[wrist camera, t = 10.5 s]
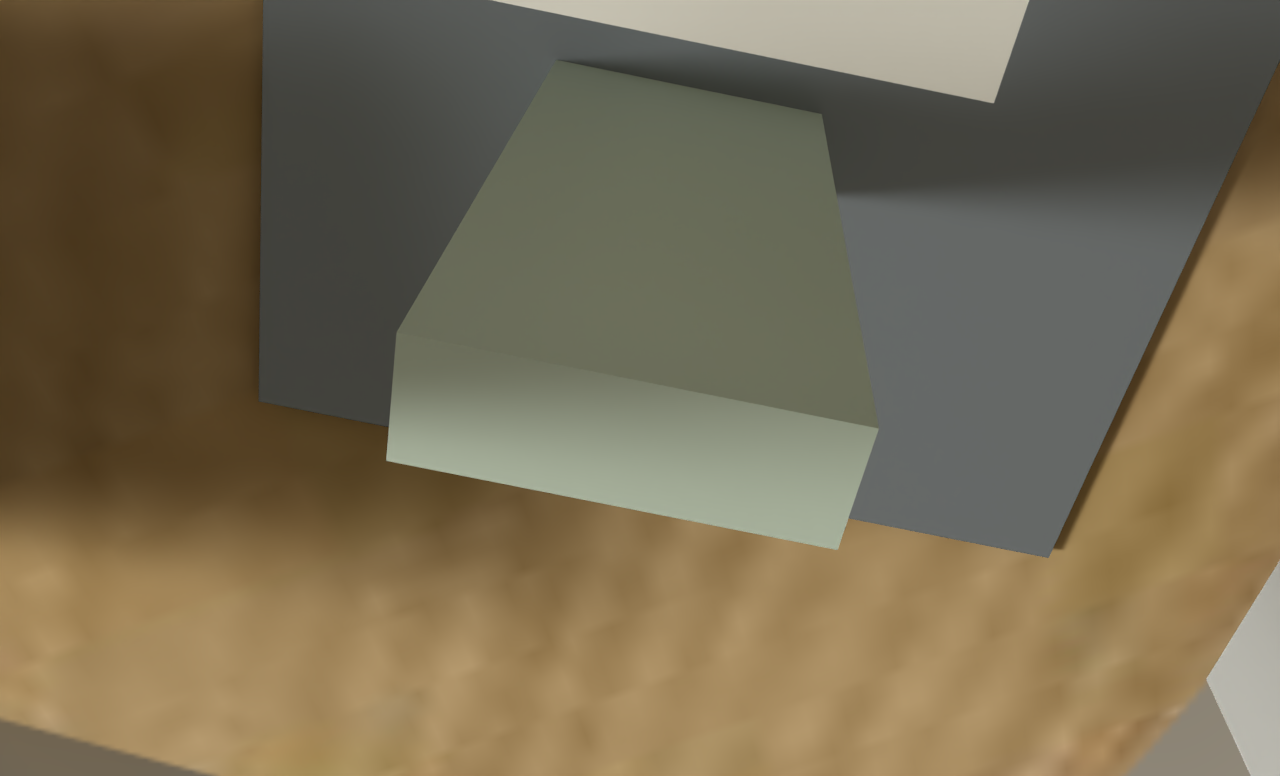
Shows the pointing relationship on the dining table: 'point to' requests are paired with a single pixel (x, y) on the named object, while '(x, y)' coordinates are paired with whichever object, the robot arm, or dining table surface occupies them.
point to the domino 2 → (648, 315)
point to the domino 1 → (837, 34)
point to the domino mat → (868, 204)
